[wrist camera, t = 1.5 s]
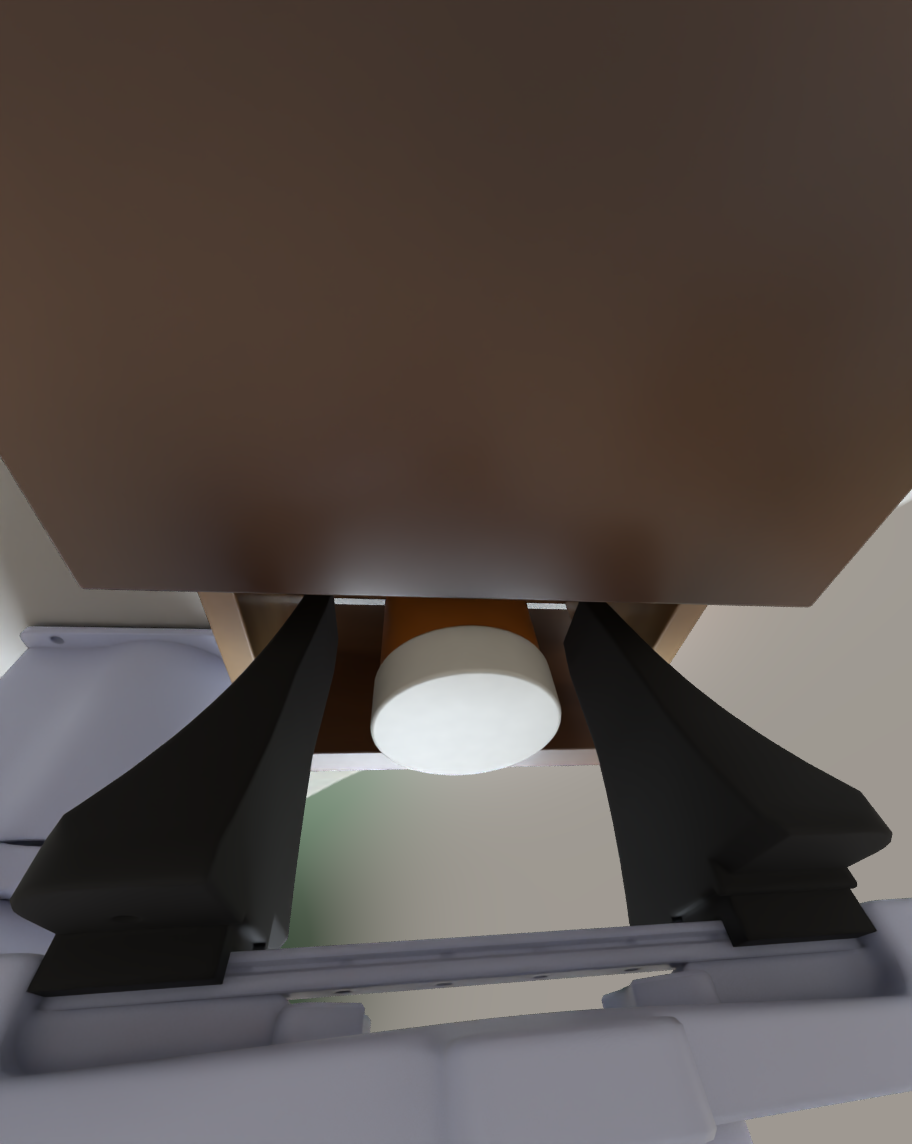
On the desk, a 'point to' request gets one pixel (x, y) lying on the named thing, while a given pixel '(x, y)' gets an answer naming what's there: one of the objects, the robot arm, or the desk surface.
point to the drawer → (347, 714)
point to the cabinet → (458, 293)
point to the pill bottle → (461, 686)
